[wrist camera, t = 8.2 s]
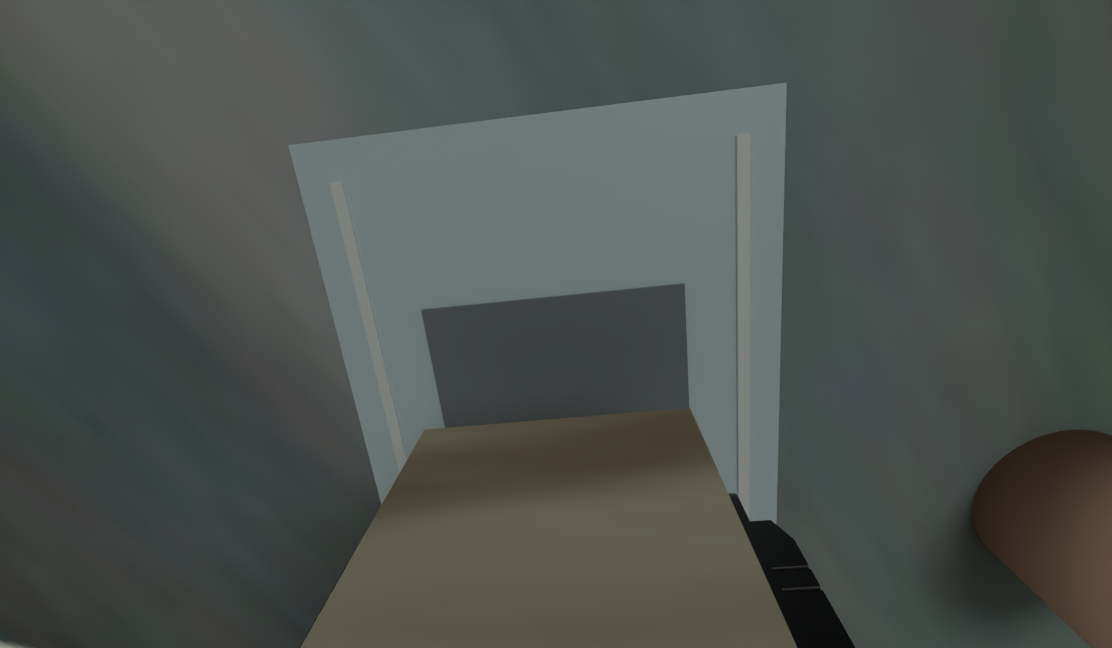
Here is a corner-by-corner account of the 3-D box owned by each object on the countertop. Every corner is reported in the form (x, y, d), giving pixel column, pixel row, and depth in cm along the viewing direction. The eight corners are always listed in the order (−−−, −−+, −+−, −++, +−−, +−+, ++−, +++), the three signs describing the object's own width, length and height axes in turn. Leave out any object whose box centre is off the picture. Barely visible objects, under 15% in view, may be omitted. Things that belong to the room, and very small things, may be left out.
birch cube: (424, 429, 10) (278, 686, 5) (690, 407, 9) (805, 662, 5) (467, 631, 11) (385, 976, 7) (697, 618, 11) (790, 975, 6)
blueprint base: (308, 146, 14) (286, 145, 13) (770, 88, 13) (788, 82, 12) (423, 612, 18) (414, 639, 17) (763, 592, 18) (775, 620, 17)
